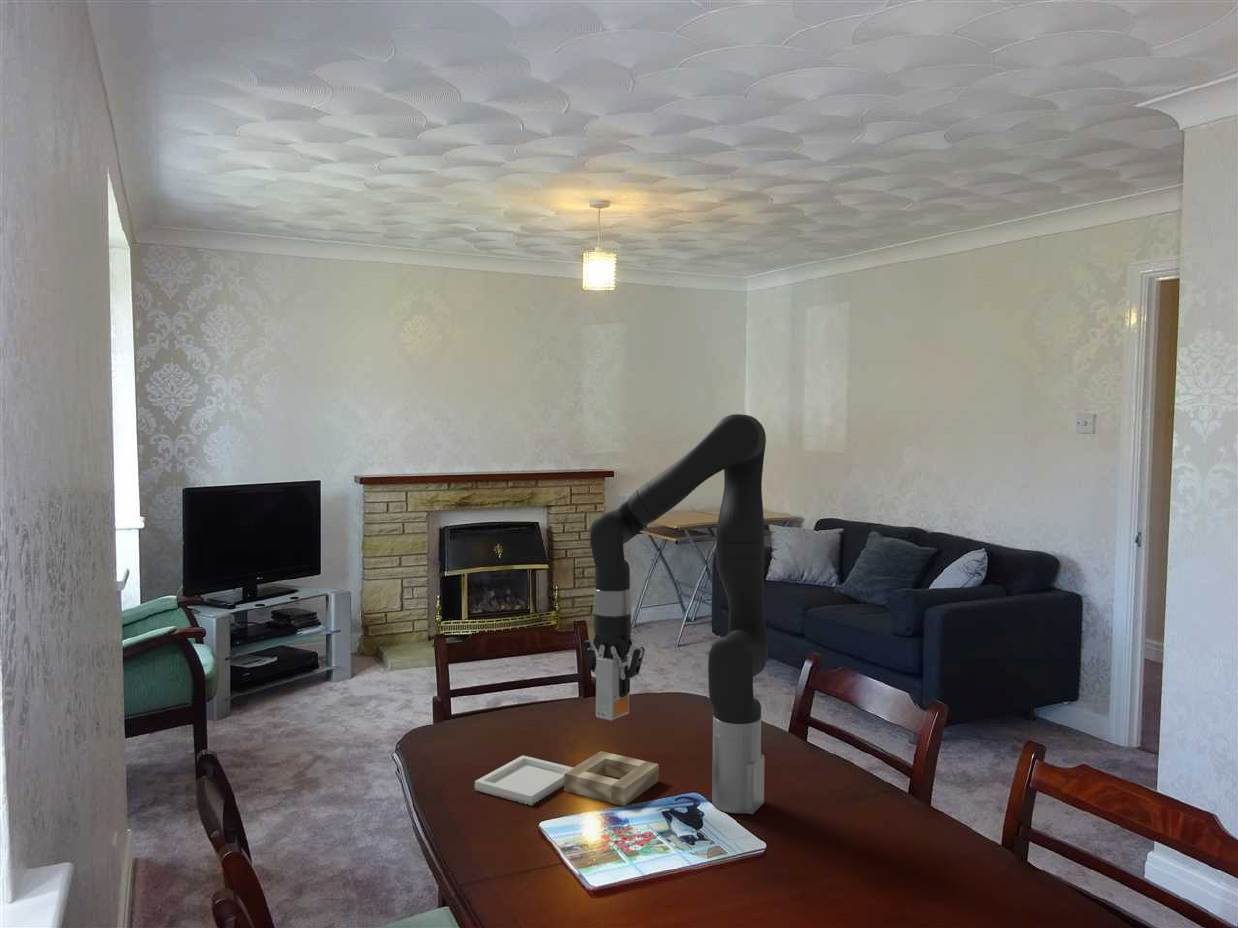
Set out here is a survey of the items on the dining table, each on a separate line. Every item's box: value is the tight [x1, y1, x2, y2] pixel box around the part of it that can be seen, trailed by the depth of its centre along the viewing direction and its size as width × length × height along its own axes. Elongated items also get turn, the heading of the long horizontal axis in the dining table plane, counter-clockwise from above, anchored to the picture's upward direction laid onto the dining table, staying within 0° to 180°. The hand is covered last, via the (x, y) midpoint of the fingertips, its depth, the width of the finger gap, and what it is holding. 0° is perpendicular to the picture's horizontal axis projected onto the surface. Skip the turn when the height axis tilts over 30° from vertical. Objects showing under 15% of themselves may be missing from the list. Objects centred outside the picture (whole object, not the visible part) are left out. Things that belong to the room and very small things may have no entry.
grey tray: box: [474, 755, 574, 806], centre depth 178 cm, size 14×16×2 cm
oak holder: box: [563, 750, 660, 807], centre depth 177 cm, size 14×14×4 cm
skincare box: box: [595, 655, 630, 721], centre depth 177 cm, size 6×4×12 cm
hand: (612, 693), depth 177 cm, fingers closed on skincare box, 4 cm apart
